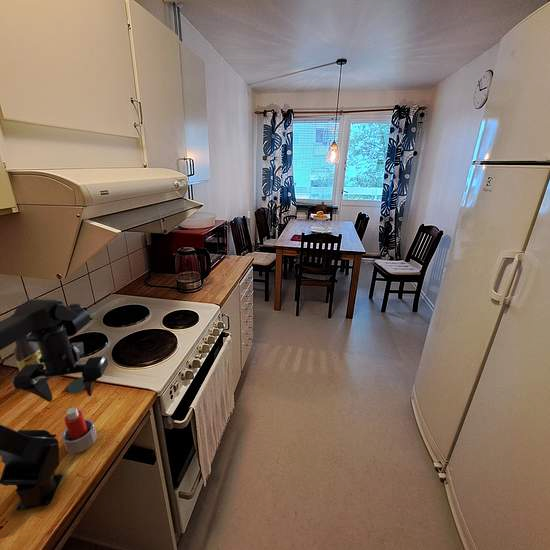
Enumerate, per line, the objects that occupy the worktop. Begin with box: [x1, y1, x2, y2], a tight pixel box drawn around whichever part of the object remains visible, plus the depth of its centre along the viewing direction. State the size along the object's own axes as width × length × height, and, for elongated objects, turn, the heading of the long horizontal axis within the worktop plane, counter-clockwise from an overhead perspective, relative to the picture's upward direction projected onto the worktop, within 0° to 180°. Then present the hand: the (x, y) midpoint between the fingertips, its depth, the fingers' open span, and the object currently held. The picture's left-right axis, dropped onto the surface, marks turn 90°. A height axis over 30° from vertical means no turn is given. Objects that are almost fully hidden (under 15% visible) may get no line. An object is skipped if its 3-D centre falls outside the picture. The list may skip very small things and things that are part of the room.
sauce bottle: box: [13, 333, 46, 372], centre depth 93 cm, size 6×6×20 cm
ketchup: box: [64, 406, 88, 441], centre depth 74 cm, size 4×4×11 cm
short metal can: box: [61, 418, 98, 455], centre depth 76 cm, size 7×7×4 cm
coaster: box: [66, 377, 86, 394], centre depth 95 cm, size 7×7×1 cm
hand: (71, 397), depth 74 cm, fingers open, 9 cm apart
